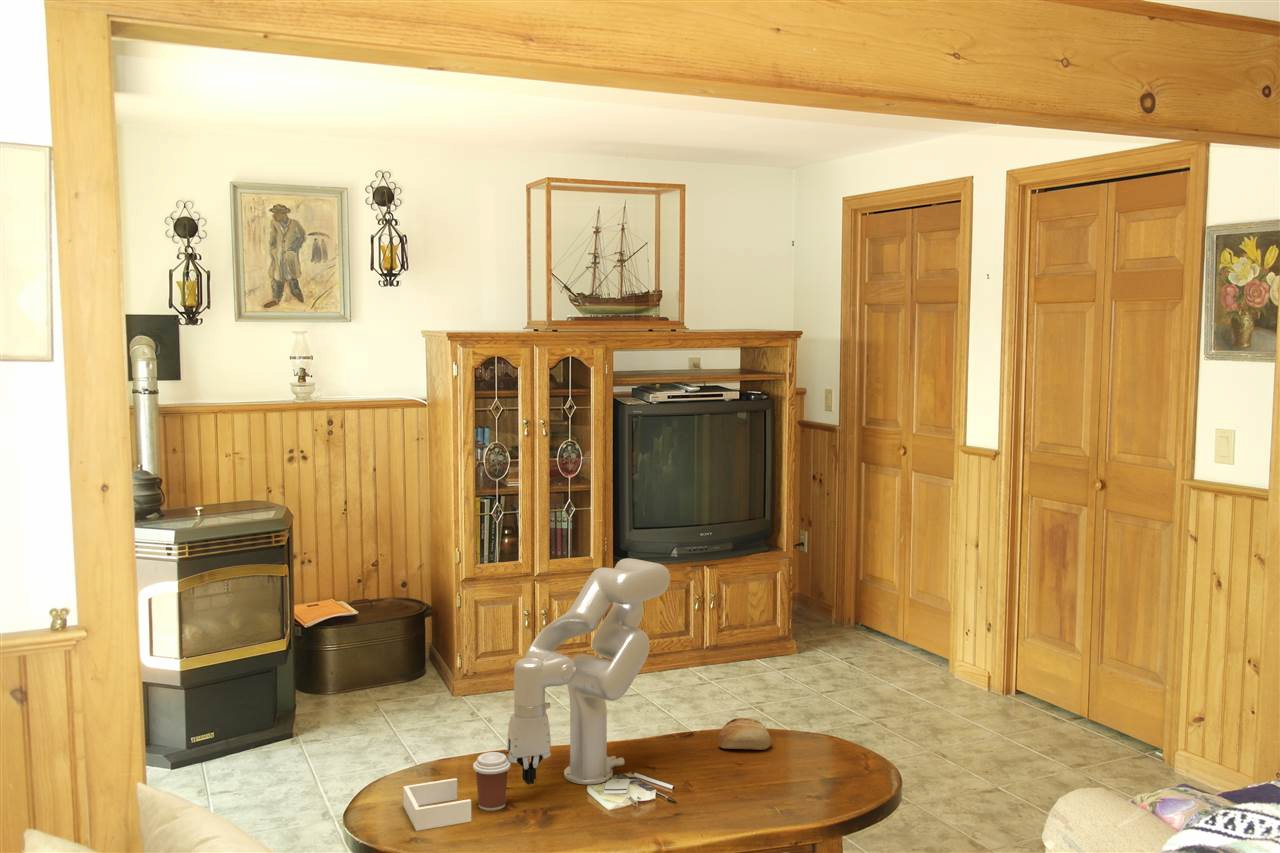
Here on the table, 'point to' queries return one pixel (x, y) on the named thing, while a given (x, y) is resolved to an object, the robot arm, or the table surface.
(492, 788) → the coffee cup
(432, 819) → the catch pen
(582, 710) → the robot arm
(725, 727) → the bread roll
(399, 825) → the table surface
